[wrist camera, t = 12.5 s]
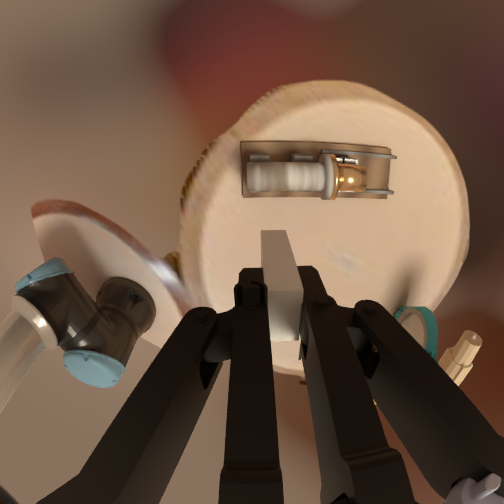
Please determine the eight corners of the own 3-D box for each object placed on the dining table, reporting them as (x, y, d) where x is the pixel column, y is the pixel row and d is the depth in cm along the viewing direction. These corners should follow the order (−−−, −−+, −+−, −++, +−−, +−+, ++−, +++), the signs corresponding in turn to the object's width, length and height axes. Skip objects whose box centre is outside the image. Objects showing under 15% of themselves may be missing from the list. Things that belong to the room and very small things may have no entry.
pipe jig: (243, 196, 50) (241, 215, 40) (241, 142, 46) (238, 146, 36) (388, 197, 50) (417, 216, 40) (392, 148, 46) (424, 156, 35)
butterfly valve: (392, 348, 68) (431, 432, 41) (372, 350, 68) (408, 439, 41) (428, 267, 57) (499, 348, 30) (407, 265, 57) (479, 353, 30)
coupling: (317, 189, 48) (333, 205, 39) (318, 150, 45) (335, 156, 36) (347, 190, 48) (368, 206, 39) (349, 152, 45) (372, 159, 36)
